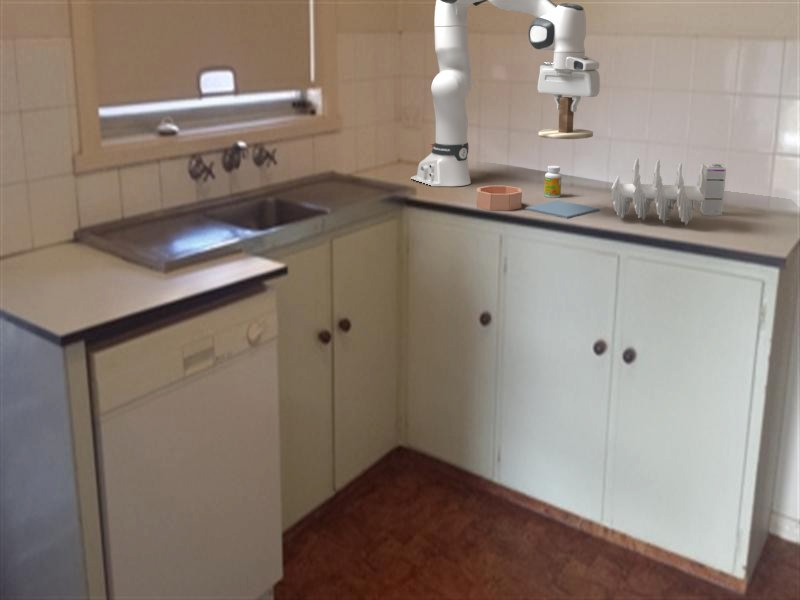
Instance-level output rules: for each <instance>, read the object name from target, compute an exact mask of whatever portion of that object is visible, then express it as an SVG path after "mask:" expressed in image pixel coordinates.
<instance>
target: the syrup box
mask: <svg viewBox="0 0 800 600" xmlns="http://www.w3.org/2000/svg"><path fill="white" fill-rule="evenodd" d="M726 175H727V167H726V166H725V165H724V164H719V163H708V164H706V163H705V164H704V179H705V197H704V201H700V206H699V211H700V213H701V215H702V216H710V217H711V216H712V217H713V216H714V217H715V216H716V217H717V216H718V217H721V216H722V214H723V205H724V198H725V197H724V195H725V186H726Z"/></svg>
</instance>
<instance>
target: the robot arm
mask: <svg viewBox="0 0 800 600" xmlns="http://www.w3.org/2000/svg"><path fill="white" fill-rule="evenodd" d="M484 2H488V3H490V4H491V5H493V6H494V7H496V8H498V9H499V10H502V11H508V12H509V11H510V12H518V13H524V14H528V15H532V16H533V17H535V18H534V19H533V20H532V22H531V23H530V25H529V27H528V32H527V33H528V34H527V35H528V40H529V43H530V45H531V47H532V48H534V49H535V50H540V51H553V61H551V62H550V61H545V62H543V63H542V64H541V65H540V66H539V76H538V81H537V91H538V93H539V94H542V95H553V99H554V102H555V104H556V111H558V112H559V105H560V98H562V97H563V96H566V97H570V96H571V97H572V100H574V101H573V103H572V105H570V106H569V112H574V113H575V112H577V110H578V109H577V107H578V104H580V101H581V97H583V98H584V97H585V98H595V97H597V96H598V95H599V94H600V88H601V87H600V86H601V84H600V83H601V81H600V80H601V79H600V77H601V76H600V73H599V71H598V70H599V68H600V62H599V61H597V60H595V59H592V58H590V57H589V56H587V55H586V54H585V52H586V51H585V39H586V37H587V36H586V35H587V34H586V33H587V32H586V31H587V18H586V17H587V15H586V11H585V9H584V7H582V6H581V5H579V4H576V3H575V4H574V3H560V4H558V5H557V4H555V3H554V2H553V1H551V0H436V1H435V7H434V23H433V24H434V26H433V28H434V52H435V54H436V58H437V64H438V69H439V73H437V74H436V75H435V76H434V77H433V80H432V83H431V86H430V87H431V88H430V90H431V95H432V101H433V109H434V118H435V141H434V143H430V144H429V148H432V149H431V152H430V154H428V155H427V156H426V157H425V158H423V159H422V160H421V161H420V162H419V163H418V166H417V174H416V175H413V176H411V177H410V180H411V179H414V180H416V181H419V182H422V183H421V184H423V183H425V184H424V185H426V184H428V185H427V186H429V185H431V186H430V187H463V186H468V185H470V184H472V182H471V181H472V180H471V176H470V171H469V170H470V169H469V159H468V156H469V155H468V154H469V149H470V148H469V147H470V146H469V142H468V124H469V122H468V116H467V110H466V97H467V96H469V94H470V93H471V91H472V88H473V78H472V69H471V62H470V56H469V55H470V54H469V43H468V42H469V40H468V39H469V37H468V36H469V35H468V34H469V32H468V30H469V29H468V9H469V8H470V6H472V5H473V6H475V7H477V6H479V5H481V4H483V3H484ZM416 181H415V182H416ZM419 182H418V183H419Z"/></svg>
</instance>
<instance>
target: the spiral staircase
mask: <svg viewBox="0 0 800 600" xmlns="http://www.w3.org/2000/svg"><path fill="white" fill-rule="evenodd" d="M639 163H640V159H639V158H636V159H635V160H634V162H633V167H632V181H631V183H621V180H620V175H617V176H616V177H615V180H614V181H613V184H612V186H611V187H610V189H611V191H610V192H611V202H613V203H612V205H613V209H614V212H616V215H617V216H621V219H624V217H625V215H626V214H629V211H630V206H631V203H632V205H634V211H635V214H636V215H637V218H638V219H641V218H642V220H643V221H645V219H646V217H647V215H649V214H650V209H651V204H652V203H653V202H654V203H655V204H656V205H655V207H656V208H655V209H656V215H658V219H659V220H660V221H662V224H666V221H669V220H670V217H671V211H672V210H674V208H675V205H676V207H678V209H677V211H678V217H679V219H680V218H681V219H680V222H682V223H684V225H685V226H688V223H689V221H692V217H693V210H696V206H698V204H699V201H700V202H701V201H704V197H705V179H704V166H705V164H704V163H702V164H700V167H699V173H698V179H697V183H696V185H685V182H684V178H683V176H682V175H683V171H682V170H683V163H682V162H679V163H678V165H677V171H676V180H675V185H674V184H663V179H662V176H661V173H660V168H661V165H660V159H657V160H656V162H655V165H654V170H653V177H654V178H653V181H652V184H647V183H646V184H644V183H641V175H640V174H639V173H640V172H639V171H640V164H639Z"/></svg>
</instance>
